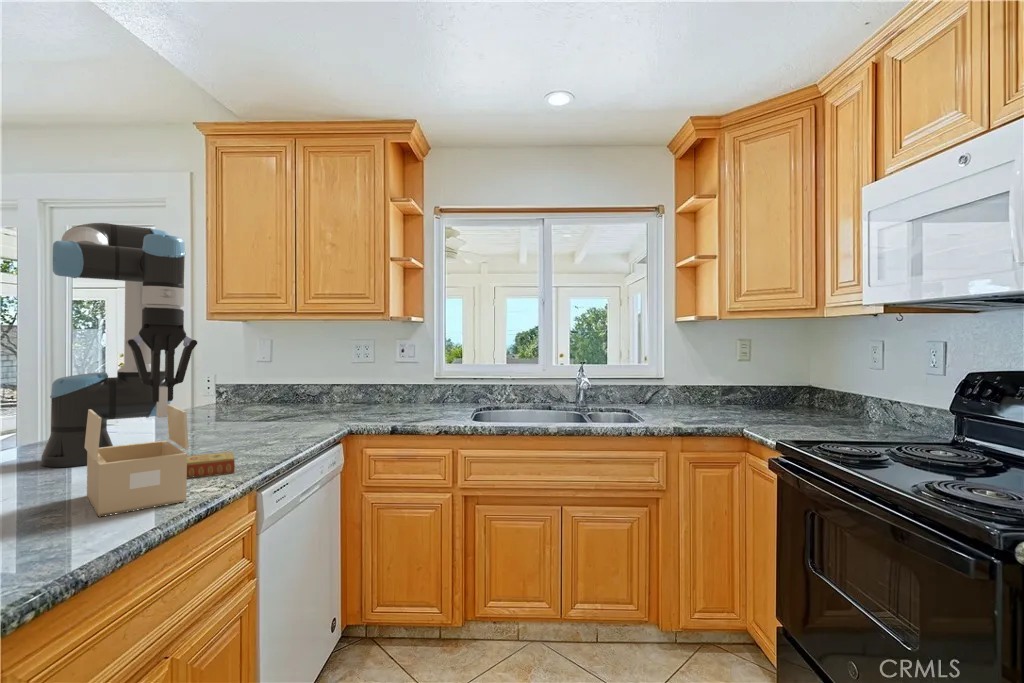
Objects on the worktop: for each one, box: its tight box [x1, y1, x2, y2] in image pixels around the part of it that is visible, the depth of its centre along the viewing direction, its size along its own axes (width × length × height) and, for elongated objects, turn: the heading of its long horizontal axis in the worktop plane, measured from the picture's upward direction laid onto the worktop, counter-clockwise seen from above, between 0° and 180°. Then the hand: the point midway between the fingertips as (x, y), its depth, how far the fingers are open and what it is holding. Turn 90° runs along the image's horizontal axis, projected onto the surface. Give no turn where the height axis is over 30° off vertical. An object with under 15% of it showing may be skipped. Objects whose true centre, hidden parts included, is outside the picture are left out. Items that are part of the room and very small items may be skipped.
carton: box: [187, 451, 236, 478], centre depth 132 cm, size 8×16×4 cm, turn 122°
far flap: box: [167, 403, 190, 450], centre depth 115 cm, size 15×8×1 cm
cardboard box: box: [86, 440, 188, 518], centre depth 110 cm, size 18×14×10 cm
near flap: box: [84, 409, 102, 461], centre depth 105 cm, size 15×8×1 cm
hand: (161, 416), depth 113 cm, fingers closed
